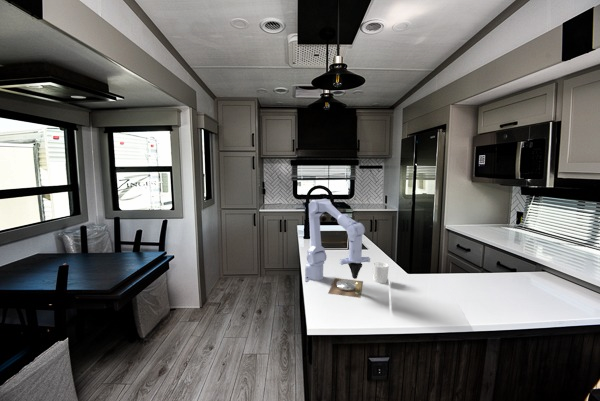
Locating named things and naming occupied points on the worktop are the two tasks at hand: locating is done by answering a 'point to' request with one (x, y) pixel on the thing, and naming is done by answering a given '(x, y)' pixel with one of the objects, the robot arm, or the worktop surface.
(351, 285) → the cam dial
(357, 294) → the brown flat rectangular slab
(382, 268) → the white cup
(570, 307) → the worktop surface
